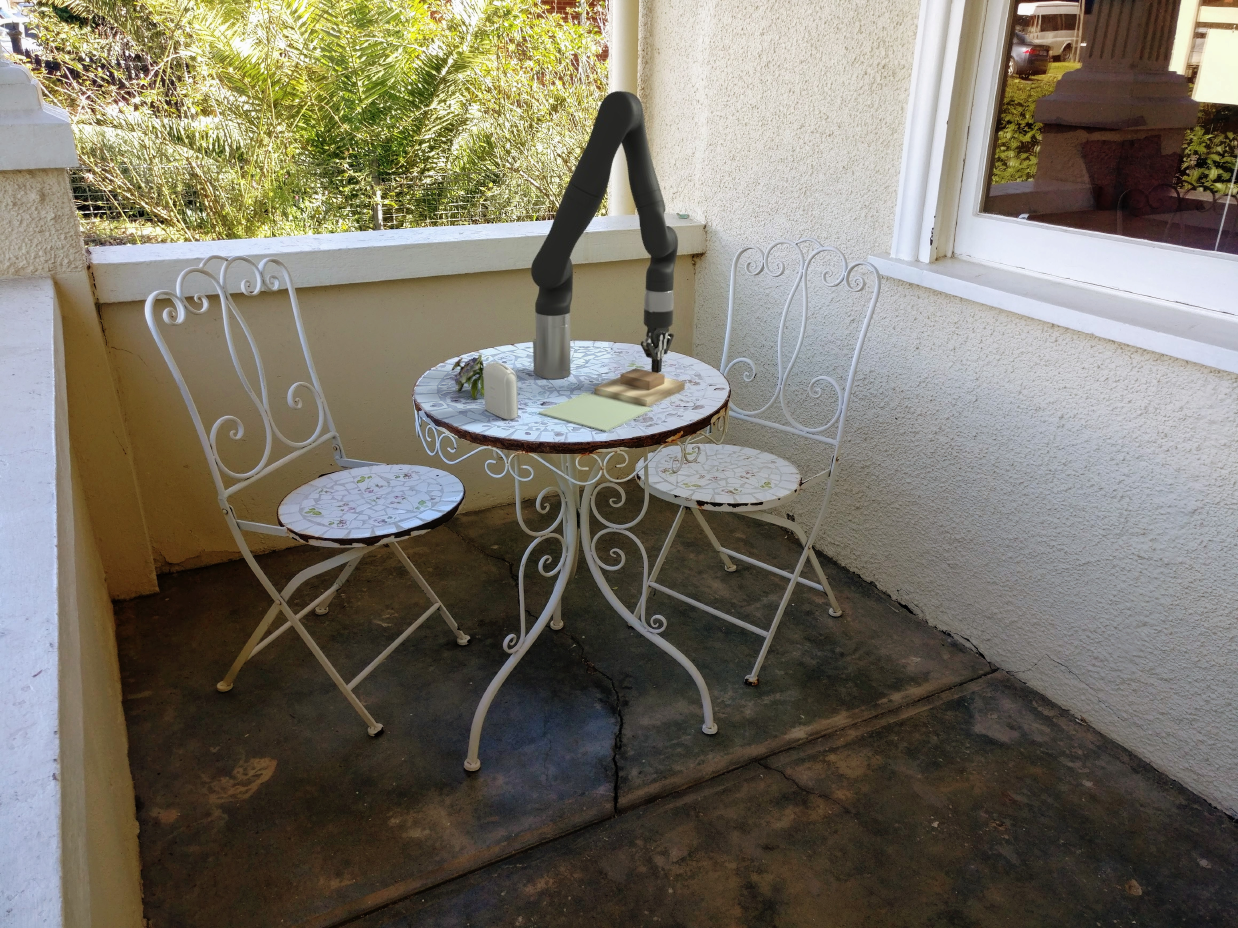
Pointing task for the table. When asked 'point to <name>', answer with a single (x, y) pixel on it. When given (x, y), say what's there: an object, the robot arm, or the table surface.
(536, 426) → the table surface
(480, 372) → the passion flower
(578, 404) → the sage mat
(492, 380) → the photo printer
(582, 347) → the table surface
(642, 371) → the walnut slab
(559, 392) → the table surface
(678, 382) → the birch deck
